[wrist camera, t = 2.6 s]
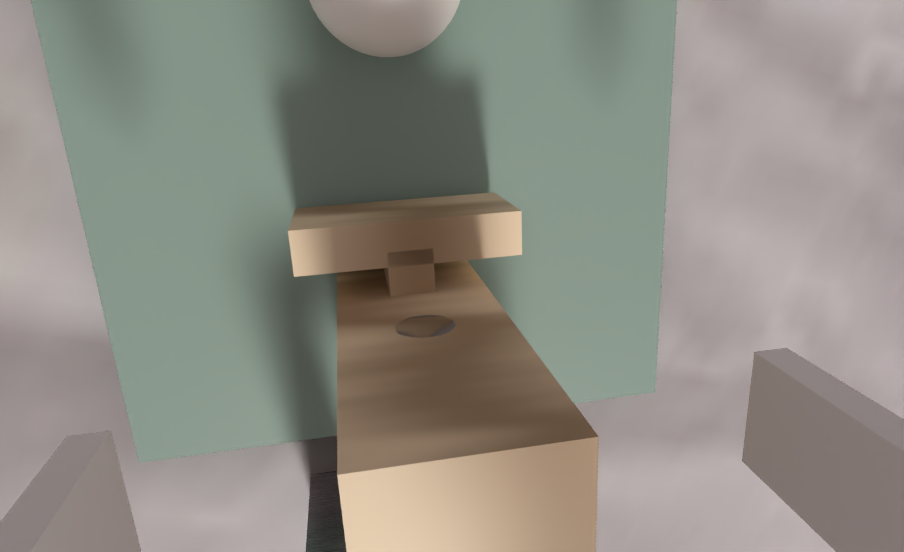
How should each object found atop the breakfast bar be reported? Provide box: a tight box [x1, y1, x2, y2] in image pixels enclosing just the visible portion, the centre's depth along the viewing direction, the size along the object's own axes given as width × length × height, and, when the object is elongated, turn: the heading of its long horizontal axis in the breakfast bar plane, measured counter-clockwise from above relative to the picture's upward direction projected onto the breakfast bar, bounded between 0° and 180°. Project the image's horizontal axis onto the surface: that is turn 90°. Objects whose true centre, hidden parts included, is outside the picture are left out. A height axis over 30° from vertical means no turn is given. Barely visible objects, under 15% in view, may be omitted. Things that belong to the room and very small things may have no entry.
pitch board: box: [31, 0, 677, 463], centre depth 19 cm, size 18×20×1 cm
